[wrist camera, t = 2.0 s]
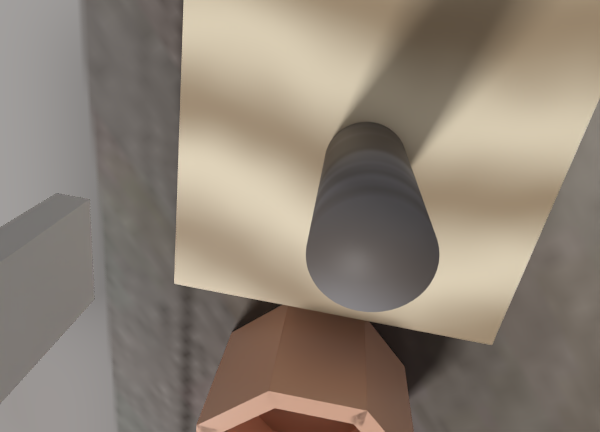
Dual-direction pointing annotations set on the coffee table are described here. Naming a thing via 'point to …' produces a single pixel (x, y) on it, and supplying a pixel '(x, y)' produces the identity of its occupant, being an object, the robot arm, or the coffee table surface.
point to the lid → (378, 151)
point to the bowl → (307, 378)
